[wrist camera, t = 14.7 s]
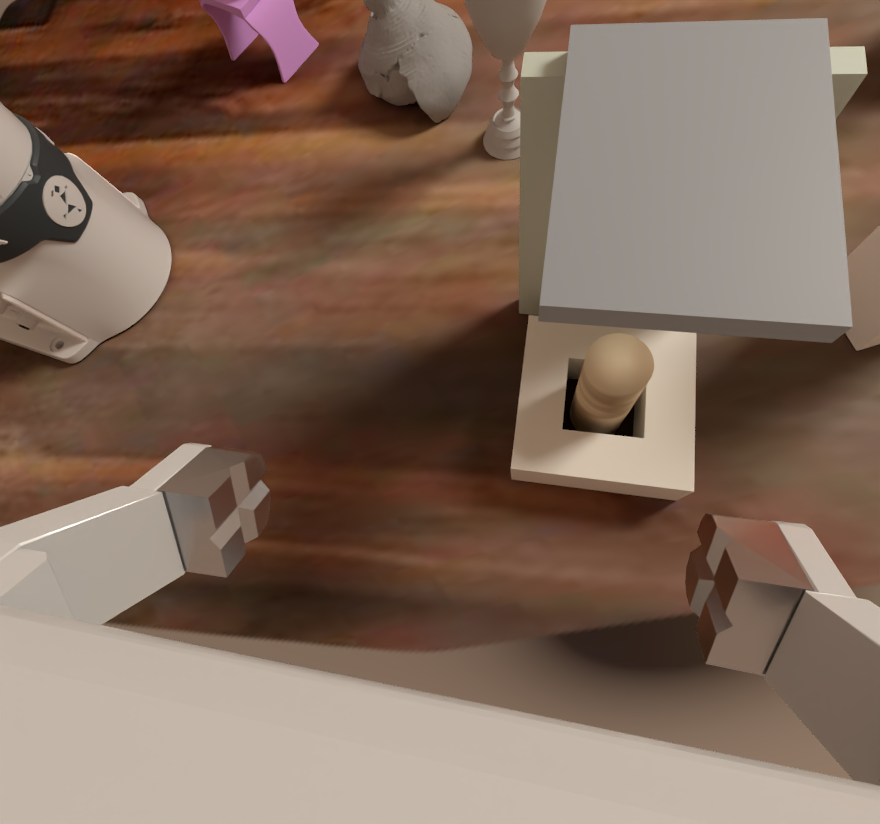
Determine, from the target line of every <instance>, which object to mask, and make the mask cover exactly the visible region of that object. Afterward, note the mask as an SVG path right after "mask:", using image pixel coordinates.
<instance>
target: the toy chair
mask: <svg viewBox="0 0 880 824" xmlns="http://www.w3.org/2000/svg"><path fill="white" fill-rule="evenodd" d="M200 4H201V6H202V7H203V9H204V10H205V11H206V12H207V13H208V14H209V15H210V16H211V17H212V18H213V20H214V21H215V22H216V24H217V25H218V27H219V29H220V31H221V33H222V35H223V37H224V40H225V42H226V45H227V48H228V51H229V54H230V58H231V60H233V61H235V60H236V59H237V57H238V56H239V55H240V54H241V53H242V52H243V51H244V50H245V49H246V48H247V47H248V46H249V44H250V43H251V42H252V41H253V40H254V39H255V38H256V37H257V36H258V35H260V36H261V37H262V38H263V39H264V40H265V41H266V42H267V44H268V45H269V46H270V48H271V50H272V52H273V54H274V56H275V59H276V62H277V65H278V68H279V71H280V75H281V79H282V82H284V83H286V82H287V81H288V80H289V78H290V77H291V76H292V75H293V74H294V73H295V72H296V70H297V69H298V68H299V67H300V66H301V65H302V64H303V63H304V61H305V60H306V59H307V58H308V57H309V56H310V55H311V54H312V52H313V51H314V50H315V49H316V48H317V47H318V45H319V43H318V42H317V41H316V40H315V39H314V38H313V37H312V36H311V35H310V34H309V33H308V32H307V30H306V29H305V28H304V27H303V25H302V23H301V22H300V20H299V18H298V15H297V13H296V10H295V6H294V2H293V0H200Z"/></svg>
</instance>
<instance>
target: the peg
mask: <svg viewBox="0 0 880 824" xmlns="http://www.w3.org/2000/svg"><path fill="white" fill-rule="evenodd" d="M653 371H654V359H653V356H652V353H651V351H650V350H649V348H648V347H647V346H646V345H645V344H644V343H643V342H642V341H641V340H639V339H638V338H636V337H634V336H631V335H628V334H623V333H614V334H608V335H605V336H603V337H601V338H599V339H597V340H596V341H595V342H594V343H593V344H592V345H591V346H590V348H589V349H588V351H587V354H586V357H585V360H584V364H583V367H582V370H581V374H580V377H579V380H578V384H577V387H576V391H575V394H574V397H573V401H572V404H571V407H570V419H571V422H572V425H573V426H574V428H575V429H576V430H577V431H582V432H591V433H600V434H610V435H612V434H614V433H615V432H616V431H617V430H618V428H619V427H620V425H621V424H622V422H623V421H624V419H625V417H626V416H627V414H628V413H629V411H630V410H631V408H632V407H633V405H634V404H635V402H636V400H637V399H638V397H639V396H640V394H641V393H642V391H643V390H644V388H645V387H646V385H647V383H648V382H649V380H650V379H651V377H652V375H653Z"/></svg>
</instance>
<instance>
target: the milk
mask: <svg viewBox="0 0 880 824" xmlns="http://www.w3.org/2000/svg"><path fill="white" fill-rule="evenodd" d="M847 264H848V276H849V288H850V300H851V312H852V324H853V327H852V328H851V329H849V330H848V331H847V332H845V333H846V335H847V337H848V338H849V340H850V342H851V343H852V345H853V347H854V348H855V350H856V351H858V350H862V349H865V348H868V347H872V346H875V345H878V344H880V225H879V226H878V227H877V228H876V229H875V230H874V231H873V232H872V233H871V234H870V235H869V236H868V237H867V238H866V239H865V240H864V241H863V242H862V243H861V244H860V245H859V246H858V247H857V248H856V249H855V250H854V251H853V252H852V253H851V254H850V255H849V256H848V257H847Z"/></svg>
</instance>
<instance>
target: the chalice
mask: <svg viewBox="0 0 880 824" xmlns="http://www.w3.org/2000/svg"><path fill="white" fill-rule="evenodd" d="M545 3H546V0H465V5H466V7H467V10H468V12H469V15H470V17H471V19H472V22H473V24H474V26H475V28H476V31H477V33H478V34H479V36H480V37H481V39H482V41H483V42H484V44H485V45H486V47H487V48H488V50H489V52H490V53H491V55H492V56H494V57H495V58H497V59H501V60H502V68H501V71H500V73H499V76H498V77H499V79H500V80H501V81H502V84H503V87H502V90H501V91H500V92H499V94H498V97H499V99H500V100H501V101H502V102H503V106H504V107H503V108H502V109H500V110H499V111H497V112H496V114H495V115H494V116H493V117H492V118H491V120H490V122H489V125H488V127H487V131H486V132H485V135H484V137H483V145H484V148H485V150H486V151H487V152H488V153H489V154H490V155H491V156H493V157H495V158H498V159H503V160H509V159H515V158H518V157H520V109H518V108H516V107H514V101H515V99H516V98H517V97H518V95H519V91H518V90H517V89H516V88H515V87H514V81H515V79H516V77H517V76H518V71H517V70H516V69H515V66H514V58H515V57H517V56H519V55H520V54H521V53H522V52H523V51H524V49H525V47H526V45H527V43H528V41H529V39H530V37H531V35H532V33H533V31H534V29H535V27H536V25H537V23H538V21H539V19H540V17H541V14H542V11H543V9H544V6H545Z"/></svg>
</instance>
